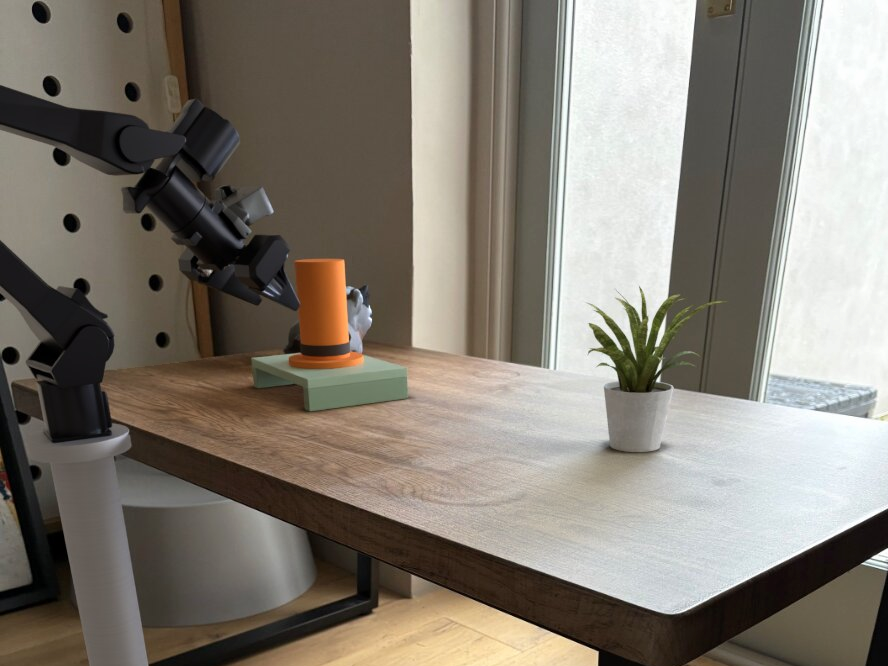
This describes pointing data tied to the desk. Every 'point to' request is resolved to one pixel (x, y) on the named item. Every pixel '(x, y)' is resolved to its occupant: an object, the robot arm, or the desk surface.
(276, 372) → the shelf
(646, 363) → the house plant
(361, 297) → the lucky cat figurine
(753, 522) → the desk surface
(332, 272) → the hat
